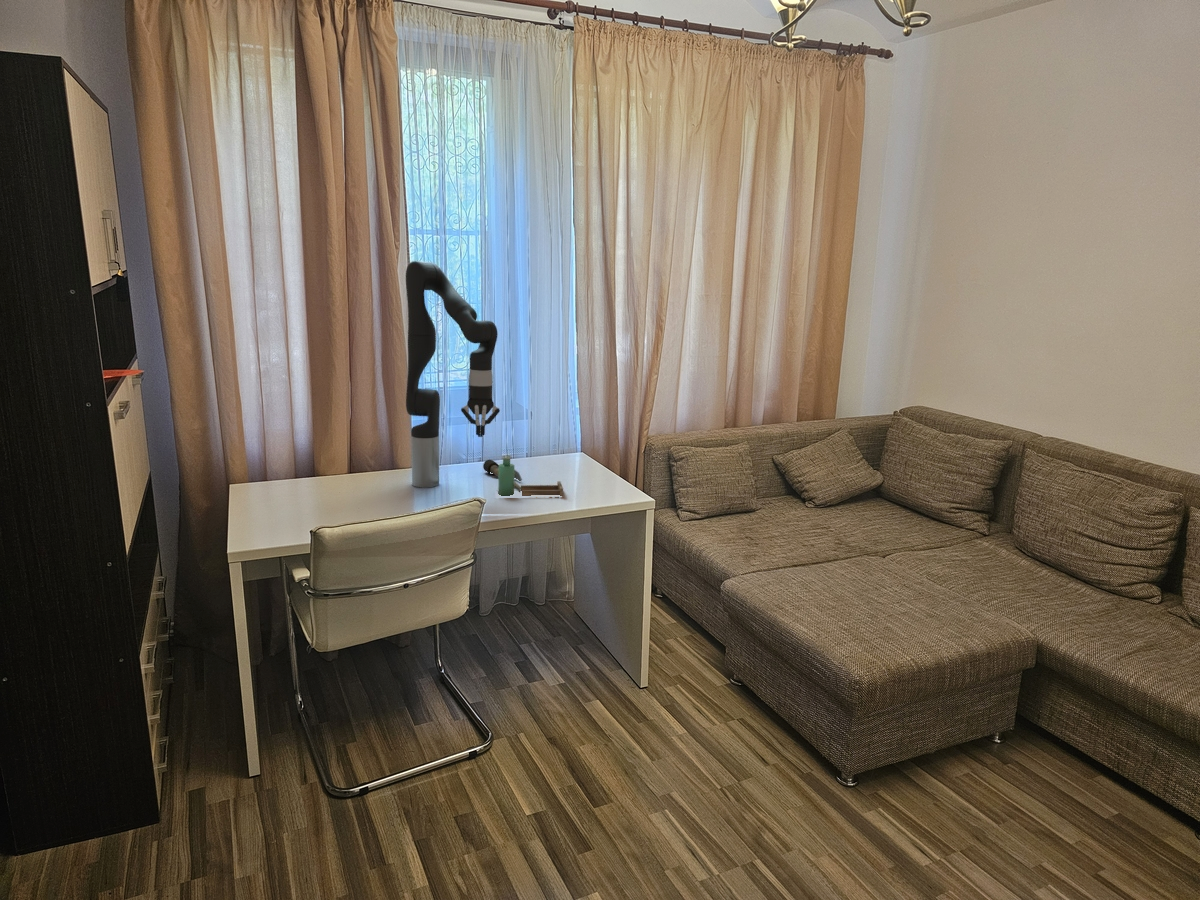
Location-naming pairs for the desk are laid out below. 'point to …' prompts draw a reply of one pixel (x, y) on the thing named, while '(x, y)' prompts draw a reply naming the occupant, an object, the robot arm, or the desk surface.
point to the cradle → (542, 489)
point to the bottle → (506, 477)
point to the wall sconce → (494, 468)
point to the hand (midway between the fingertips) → (480, 436)
